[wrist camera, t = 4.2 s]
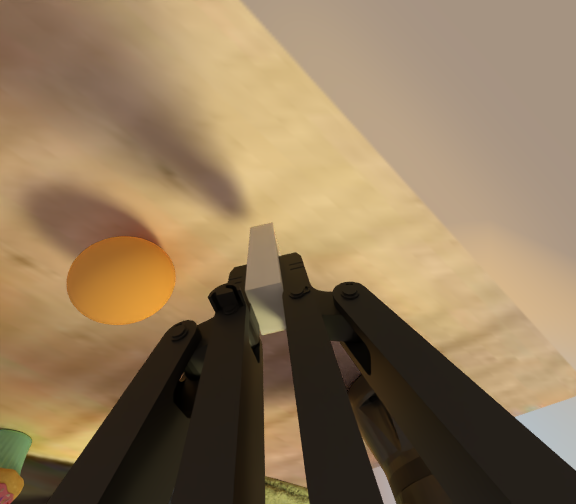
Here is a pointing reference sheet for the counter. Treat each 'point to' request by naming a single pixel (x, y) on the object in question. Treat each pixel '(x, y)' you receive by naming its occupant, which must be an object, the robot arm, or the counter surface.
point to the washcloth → (284, 492)
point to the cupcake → (12, 463)
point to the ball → (121, 280)
